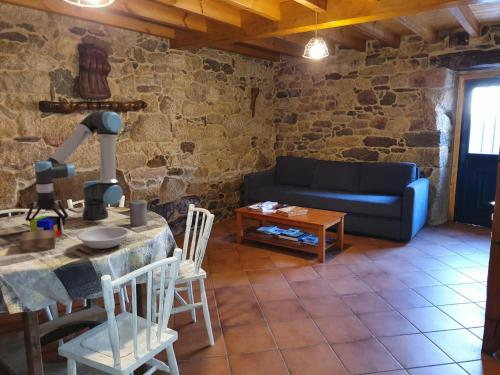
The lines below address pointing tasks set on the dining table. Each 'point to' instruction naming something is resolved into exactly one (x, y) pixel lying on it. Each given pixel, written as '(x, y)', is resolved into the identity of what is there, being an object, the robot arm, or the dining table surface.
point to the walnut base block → (37, 241)
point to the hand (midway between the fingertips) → (48, 232)
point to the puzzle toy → (46, 224)
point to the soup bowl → (103, 237)
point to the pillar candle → (138, 212)
